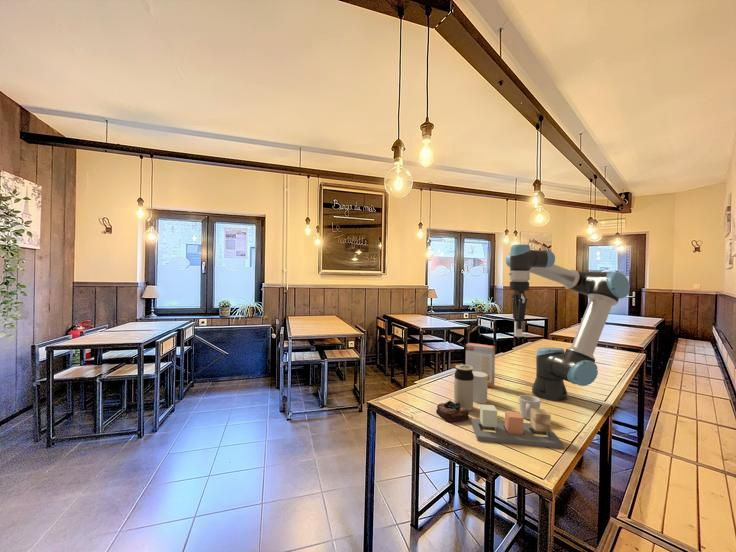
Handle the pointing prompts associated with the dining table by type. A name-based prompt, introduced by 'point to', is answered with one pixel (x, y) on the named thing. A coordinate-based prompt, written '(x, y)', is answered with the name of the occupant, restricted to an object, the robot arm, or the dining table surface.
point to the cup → (528, 405)
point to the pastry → (452, 412)
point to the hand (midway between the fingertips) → (518, 336)
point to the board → (515, 435)
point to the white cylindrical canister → (480, 387)
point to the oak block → (540, 420)
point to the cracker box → (482, 360)
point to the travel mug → (464, 386)
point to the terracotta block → (514, 422)
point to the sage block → (488, 415)
